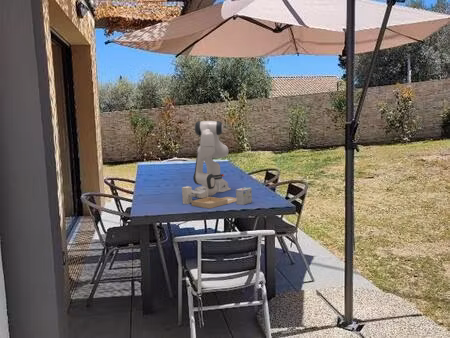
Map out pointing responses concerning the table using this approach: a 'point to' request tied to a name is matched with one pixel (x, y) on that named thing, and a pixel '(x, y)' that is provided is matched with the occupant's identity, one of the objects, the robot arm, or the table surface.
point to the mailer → (213, 202)
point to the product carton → (186, 195)
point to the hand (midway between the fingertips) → (186, 195)
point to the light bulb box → (243, 196)
